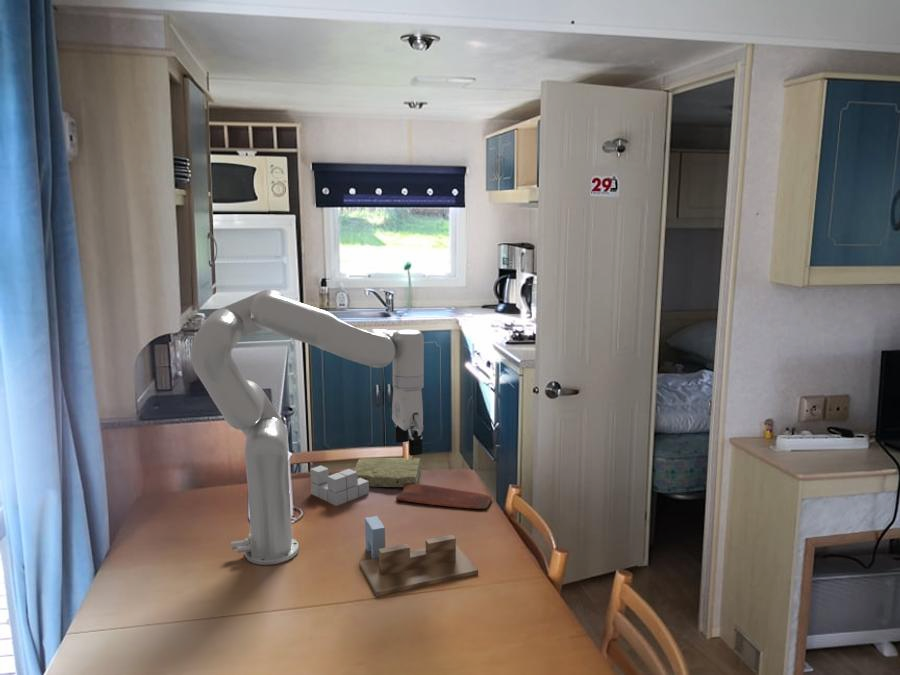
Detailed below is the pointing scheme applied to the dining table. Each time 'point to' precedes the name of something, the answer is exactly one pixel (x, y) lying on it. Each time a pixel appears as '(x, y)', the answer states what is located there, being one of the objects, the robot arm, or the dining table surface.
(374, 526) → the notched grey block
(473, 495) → the wooden tablet
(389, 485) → the olive green flat block
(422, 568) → the walnut stand
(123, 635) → the dining table surface
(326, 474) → the puzzle cube
